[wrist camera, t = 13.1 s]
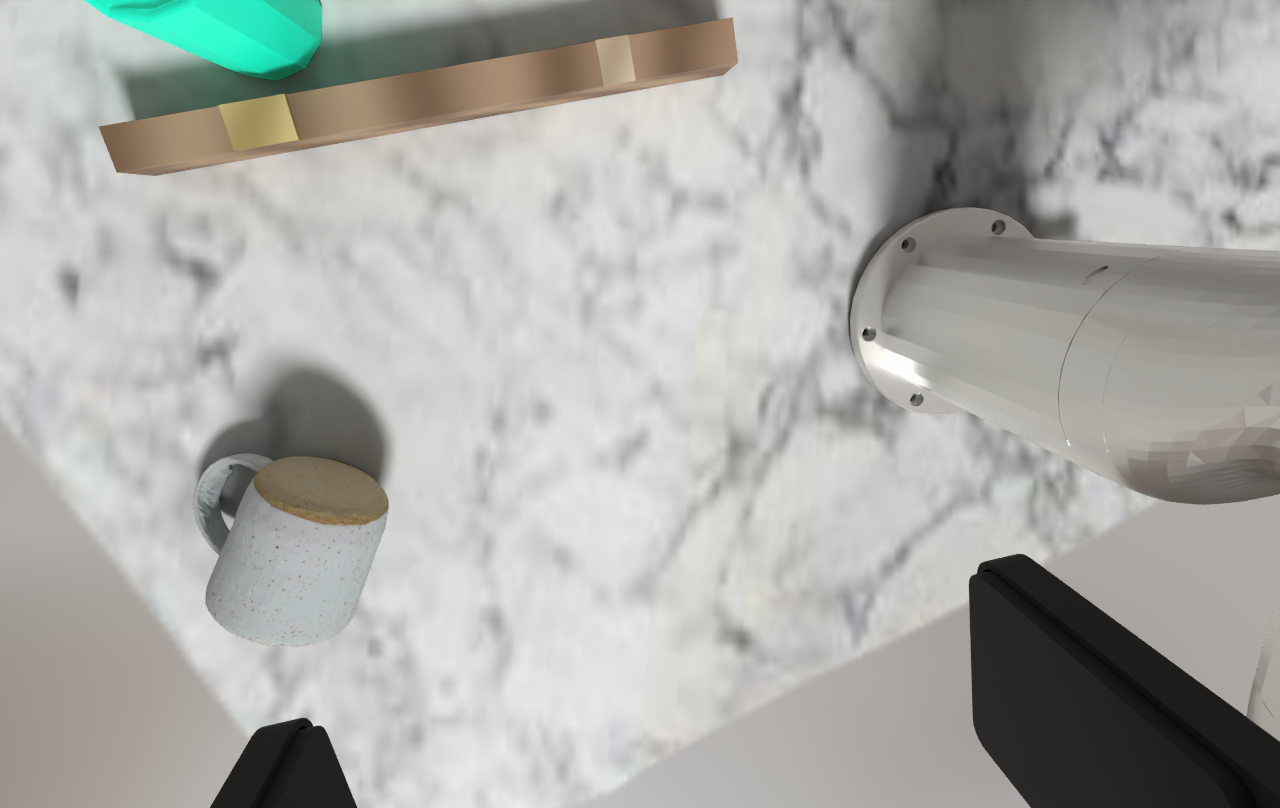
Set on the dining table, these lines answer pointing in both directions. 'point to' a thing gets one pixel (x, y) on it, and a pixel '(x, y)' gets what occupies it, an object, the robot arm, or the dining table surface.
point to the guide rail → (420, 99)
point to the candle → (230, 30)
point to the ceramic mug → (290, 547)
